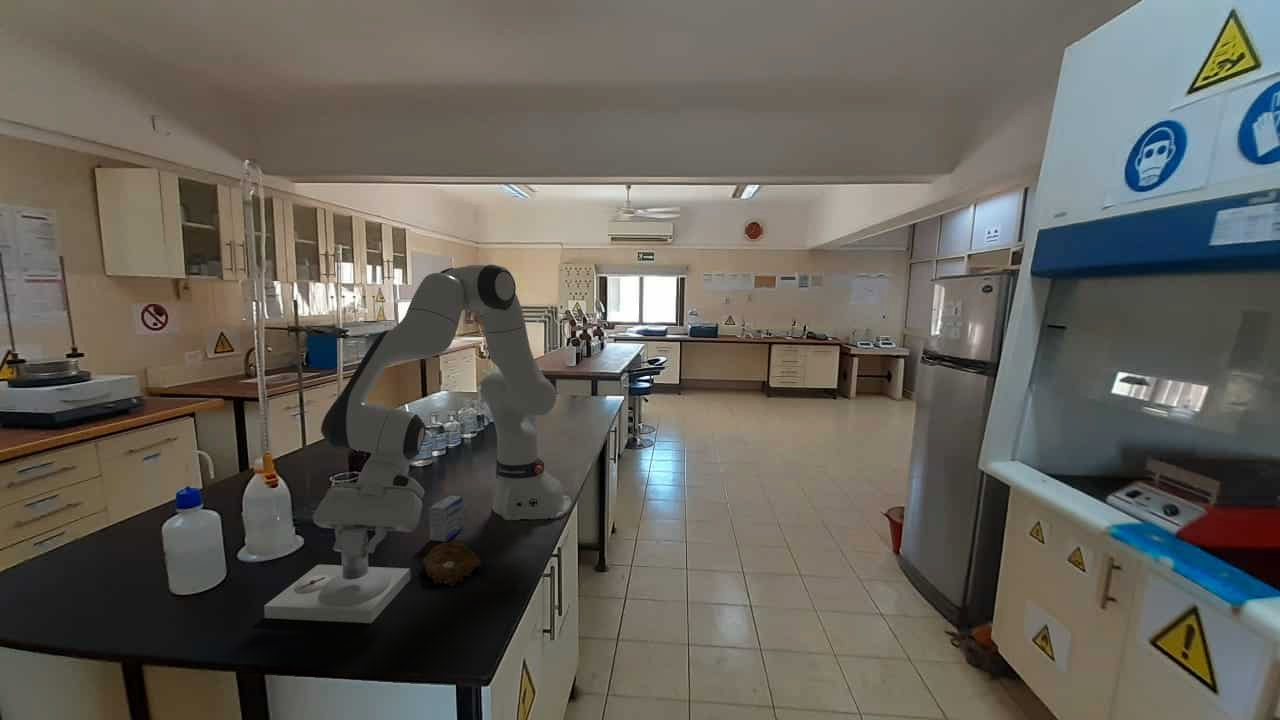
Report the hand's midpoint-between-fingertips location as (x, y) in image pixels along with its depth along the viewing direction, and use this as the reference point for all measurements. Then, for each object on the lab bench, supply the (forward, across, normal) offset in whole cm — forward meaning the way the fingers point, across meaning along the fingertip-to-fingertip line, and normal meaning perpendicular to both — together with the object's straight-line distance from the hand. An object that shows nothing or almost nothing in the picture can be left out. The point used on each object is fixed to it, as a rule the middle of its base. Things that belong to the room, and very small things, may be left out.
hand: (352, 551), depth 92 cm
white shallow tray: (+7, -3, +8) cm, 11 cm away
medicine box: (-12, +6, +27) cm, 30 cm away
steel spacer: (+3, 0, +4) cm, 5 cm away
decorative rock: (-2, +14, +17) cm, 22 cm away
